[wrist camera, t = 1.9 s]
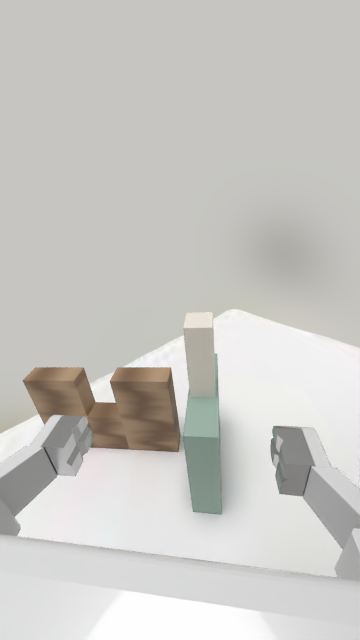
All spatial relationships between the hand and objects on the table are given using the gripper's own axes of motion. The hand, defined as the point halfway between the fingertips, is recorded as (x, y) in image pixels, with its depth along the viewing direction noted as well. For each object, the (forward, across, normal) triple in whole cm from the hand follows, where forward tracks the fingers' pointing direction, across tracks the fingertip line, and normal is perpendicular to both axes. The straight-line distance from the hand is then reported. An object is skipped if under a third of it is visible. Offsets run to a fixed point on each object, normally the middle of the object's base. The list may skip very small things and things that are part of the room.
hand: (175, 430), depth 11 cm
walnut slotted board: (+15, +12, +21) cm, 29 cm away
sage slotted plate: (+13, -1, +21) cm, 25 cm away
